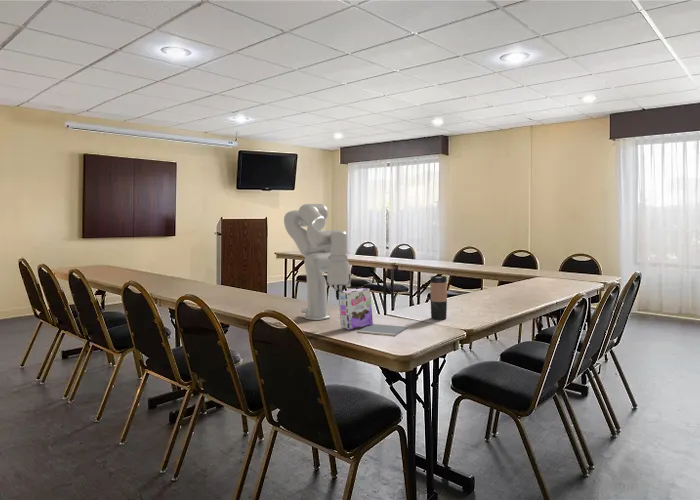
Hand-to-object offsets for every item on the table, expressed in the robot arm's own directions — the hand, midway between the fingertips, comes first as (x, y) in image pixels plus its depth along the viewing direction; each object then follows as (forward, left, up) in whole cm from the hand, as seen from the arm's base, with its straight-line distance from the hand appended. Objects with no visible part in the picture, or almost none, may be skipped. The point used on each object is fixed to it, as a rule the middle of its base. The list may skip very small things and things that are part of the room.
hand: (339, 299), depth 224 cm
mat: (+21, 0, -12) cm, 24 cm away
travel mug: (+36, +32, -12) cm, 50 cm away
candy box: (+8, 0, -12) cm, 15 cm away
